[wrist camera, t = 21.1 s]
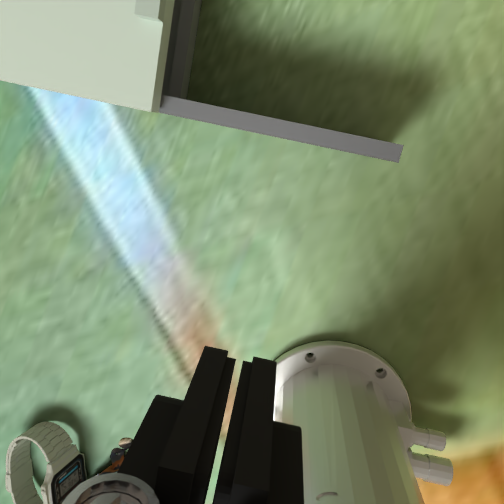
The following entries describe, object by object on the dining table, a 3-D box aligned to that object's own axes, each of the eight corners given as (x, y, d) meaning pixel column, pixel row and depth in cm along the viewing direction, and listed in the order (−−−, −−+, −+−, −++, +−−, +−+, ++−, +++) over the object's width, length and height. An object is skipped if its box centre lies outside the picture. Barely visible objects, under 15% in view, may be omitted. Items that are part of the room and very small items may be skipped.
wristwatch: (94, 504, 43) (70, 552, 39) (28, 503, 44) (-4, 550, 39) (80, 417, 41) (52, 456, 36) (10, 416, 42) (-26, 455, 37)
